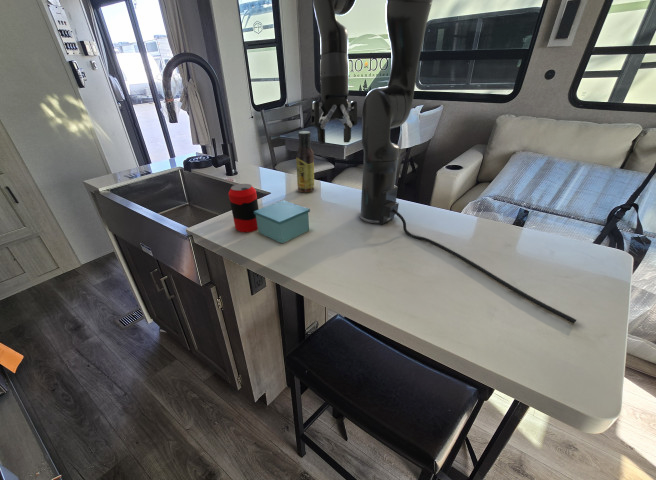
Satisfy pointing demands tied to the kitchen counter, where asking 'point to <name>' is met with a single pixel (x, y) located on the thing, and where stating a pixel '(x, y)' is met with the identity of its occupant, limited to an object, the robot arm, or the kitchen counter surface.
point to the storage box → (282, 221)
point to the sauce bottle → (305, 163)
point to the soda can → (244, 207)
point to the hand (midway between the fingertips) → (334, 143)
